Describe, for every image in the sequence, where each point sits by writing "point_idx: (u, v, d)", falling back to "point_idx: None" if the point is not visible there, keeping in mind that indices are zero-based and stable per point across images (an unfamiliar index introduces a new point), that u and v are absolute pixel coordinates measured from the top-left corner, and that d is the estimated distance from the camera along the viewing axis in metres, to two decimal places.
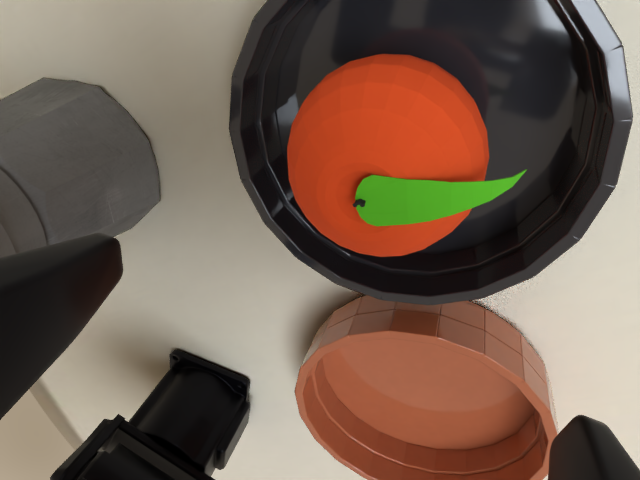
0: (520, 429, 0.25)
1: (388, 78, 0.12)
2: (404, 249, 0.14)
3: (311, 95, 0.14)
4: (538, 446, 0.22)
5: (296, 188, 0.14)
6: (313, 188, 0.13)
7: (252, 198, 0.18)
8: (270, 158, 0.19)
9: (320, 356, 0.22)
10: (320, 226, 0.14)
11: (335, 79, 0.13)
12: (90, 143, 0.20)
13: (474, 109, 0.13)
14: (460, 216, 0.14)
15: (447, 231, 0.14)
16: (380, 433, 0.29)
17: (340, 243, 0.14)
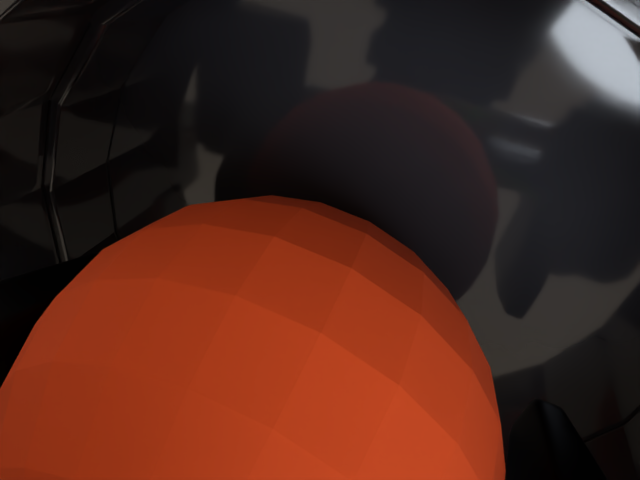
0: None
1: (183, 358, 0.04)
2: None
3: (39, 320, 0.05)
4: None
5: None
6: None
7: None
8: None
9: None
10: None
11: (73, 302, 0.05)
12: None
13: (466, 402, 0.04)
14: None
15: None
16: None
17: None
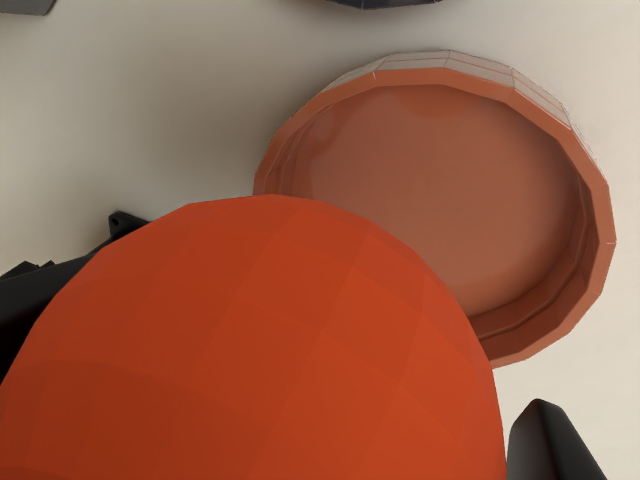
0: (549, 272, 0.19)
1: (182, 355, 0.04)
2: None
3: (38, 319, 0.05)
4: (577, 275, 0.16)
5: None
6: None
7: None
8: None
9: (280, 144, 0.16)
10: None
11: (72, 302, 0.05)
12: None
13: (467, 401, 0.04)
14: None
15: None
16: None
17: None
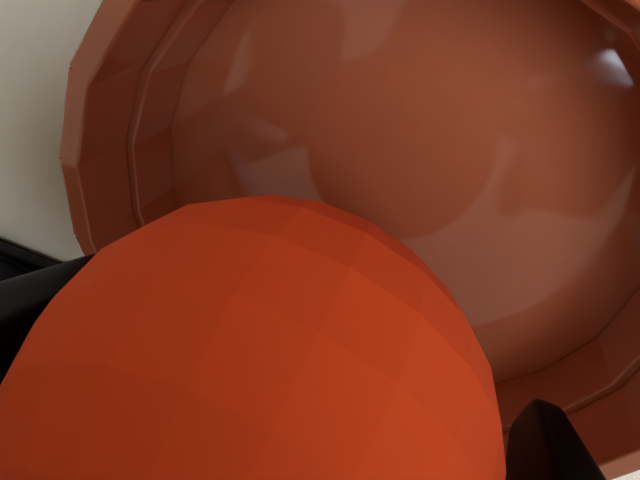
0: (606, 327, 0.11)
1: (181, 356, 0.04)
2: None
3: (37, 320, 0.05)
4: None
5: None
6: None
7: None
8: None
9: (82, 94, 0.08)
10: None
11: (71, 302, 0.05)
12: None
13: (467, 401, 0.04)
14: None
15: None
16: None
17: None
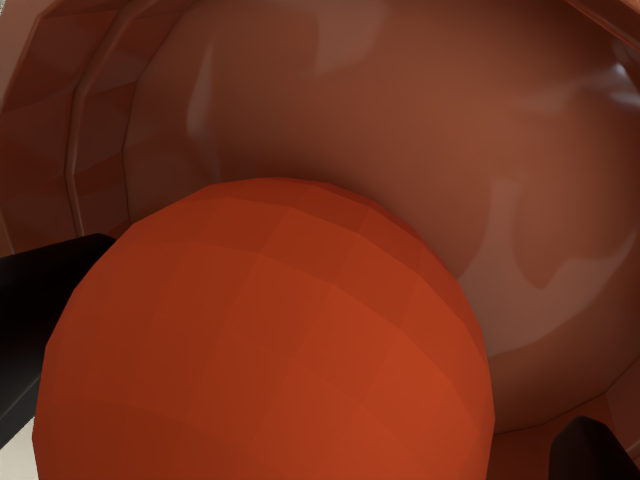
0: (615, 383, 0.09)
1: (216, 303, 0.04)
2: None
3: (79, 285, 0.06)
4: None
5: None
6: None
7: None
8: None
9: None
10: None
11: (113, 265, 0.05)
12: None
13: (459, 349, 0.05)
14: None
15: None
16: None
17: None
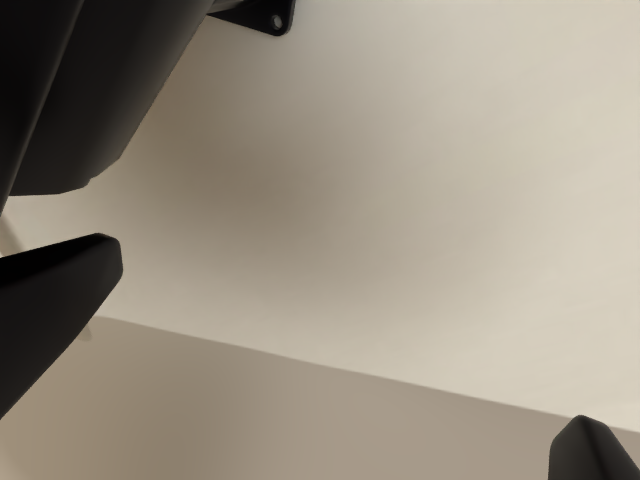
0: None
1: None
2: None
3: None
4: None
5: None
6: None
7: None
8: None
9: None
10: None
11: None
12: None
13: None
14: None
15: None
16: None
17: None
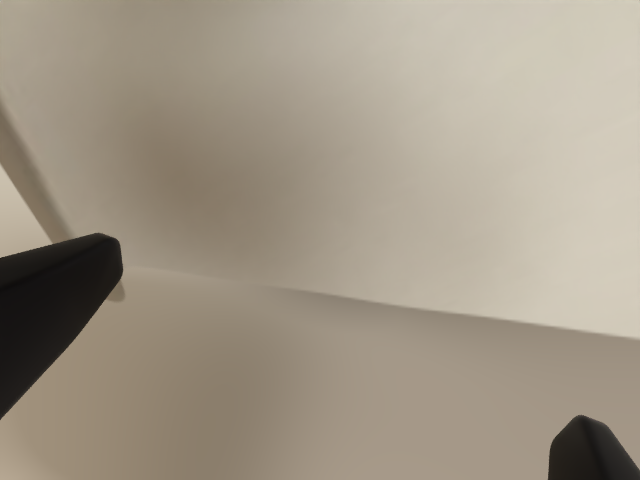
0: None
1: None
2: None
3: None
4: None
5: None
6: None
7: None
8: None
9: None
10: None
11: None
12: None
13: None
14: None
15: None
16: None
17: None
